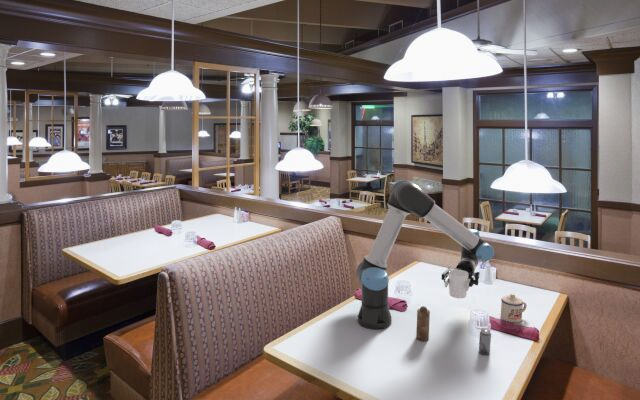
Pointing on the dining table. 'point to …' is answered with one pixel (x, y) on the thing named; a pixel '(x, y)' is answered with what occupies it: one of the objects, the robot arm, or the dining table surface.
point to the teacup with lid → (512, 308)
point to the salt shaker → (484, 342)
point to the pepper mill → (423, 324)
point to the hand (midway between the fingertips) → (456, 285)
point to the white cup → (458, 283)
